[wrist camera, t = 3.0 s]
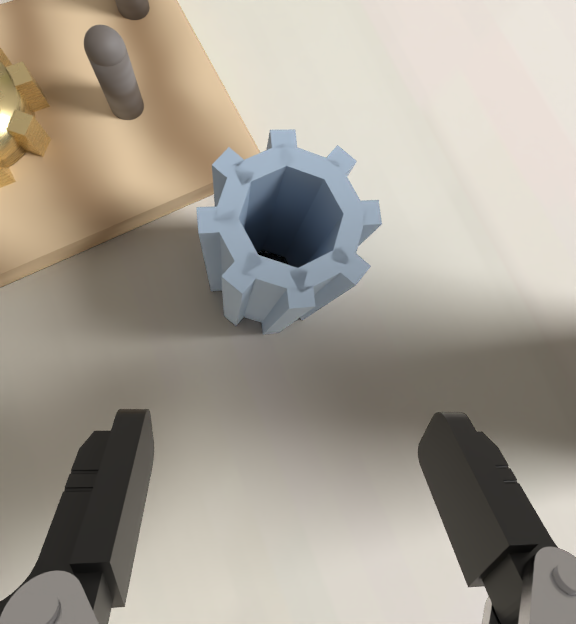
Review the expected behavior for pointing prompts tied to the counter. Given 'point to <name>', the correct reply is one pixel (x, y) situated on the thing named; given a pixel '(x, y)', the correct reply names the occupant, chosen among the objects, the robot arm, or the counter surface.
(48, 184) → the gear board
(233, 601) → the counter surface
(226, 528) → the counter surface
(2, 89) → the gear
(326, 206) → the pinion
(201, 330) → the counter surface
